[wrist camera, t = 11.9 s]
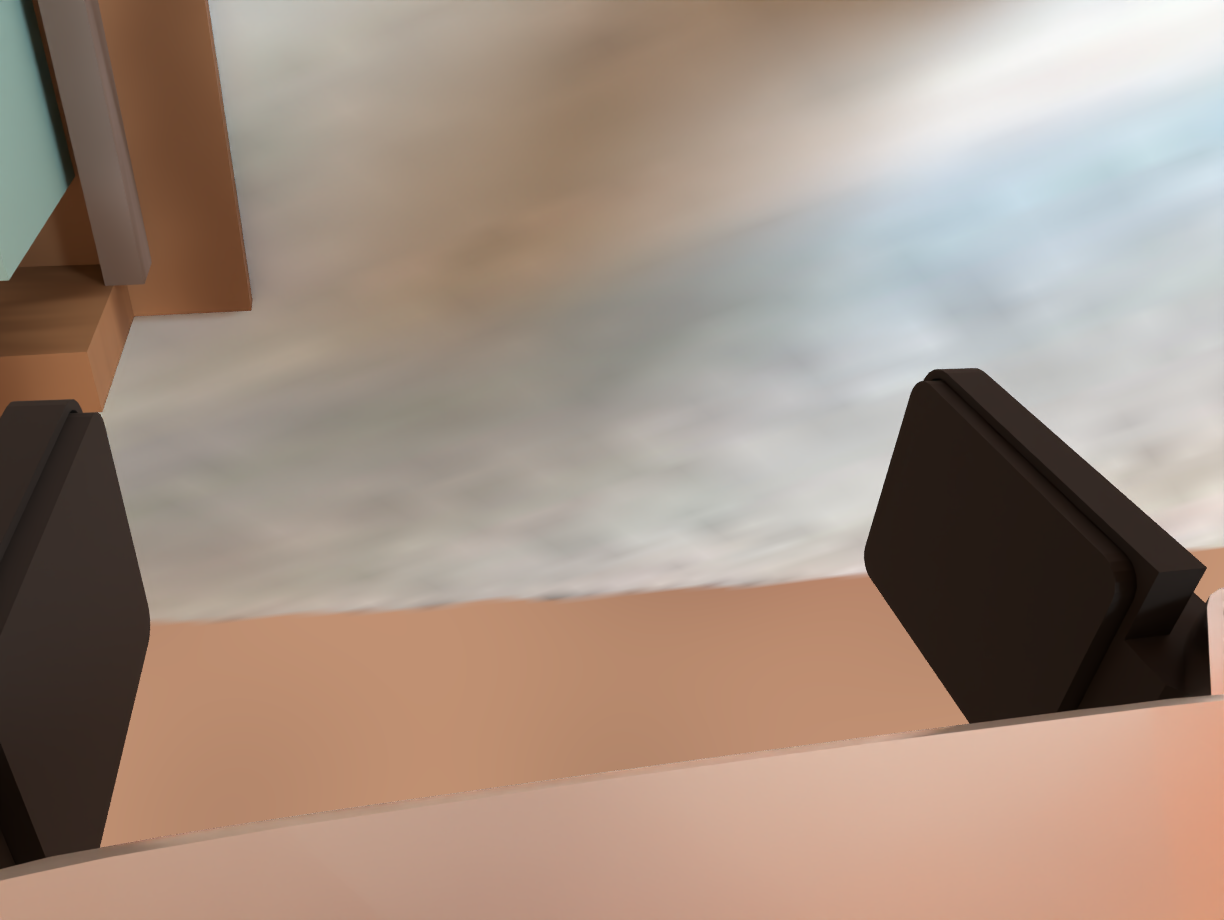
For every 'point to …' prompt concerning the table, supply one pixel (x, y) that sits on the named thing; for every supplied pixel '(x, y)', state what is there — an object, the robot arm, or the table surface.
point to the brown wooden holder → (124, 197)
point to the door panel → (27, 136)
